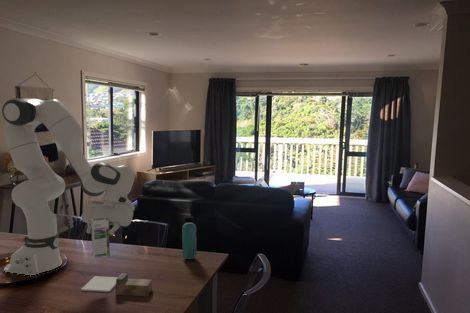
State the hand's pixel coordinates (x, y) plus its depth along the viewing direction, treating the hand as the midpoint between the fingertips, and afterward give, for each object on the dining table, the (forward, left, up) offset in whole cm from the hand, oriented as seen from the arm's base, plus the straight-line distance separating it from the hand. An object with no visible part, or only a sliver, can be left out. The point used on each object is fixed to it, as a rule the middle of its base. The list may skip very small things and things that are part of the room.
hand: (99, 233), depth 139 cm
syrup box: (0, +1, -9) cm, 9 cm away
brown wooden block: (+15, -4, -21) cm, 26 cm away
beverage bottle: (+29, +29, -21) cm, 45 cm away
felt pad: (0, +1, -21) cm, 21 cm away
